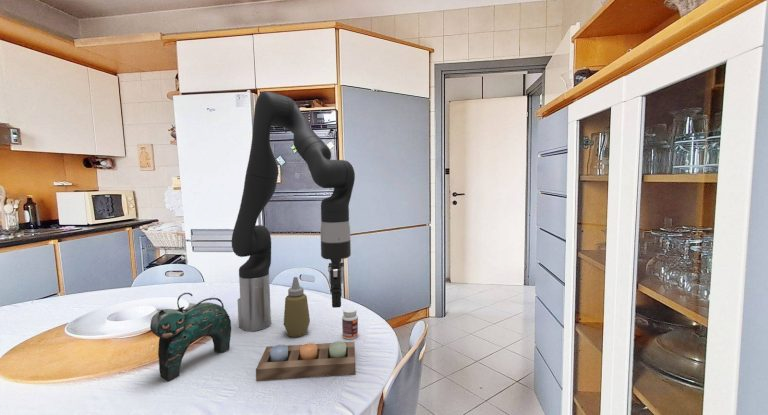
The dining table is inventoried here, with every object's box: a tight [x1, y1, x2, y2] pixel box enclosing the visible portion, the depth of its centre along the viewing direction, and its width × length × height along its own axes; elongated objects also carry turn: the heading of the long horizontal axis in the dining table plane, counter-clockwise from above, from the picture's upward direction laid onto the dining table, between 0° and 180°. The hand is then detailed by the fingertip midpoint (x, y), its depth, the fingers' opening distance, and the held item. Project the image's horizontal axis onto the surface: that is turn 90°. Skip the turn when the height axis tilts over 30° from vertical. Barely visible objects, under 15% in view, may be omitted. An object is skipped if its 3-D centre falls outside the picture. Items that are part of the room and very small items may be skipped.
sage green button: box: [329, 340, 346, 358], centre depth 90 cm, size 4×4×3 cm
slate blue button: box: [270, 344, 288, 362], centre depth 88 cm, size 4×4×3 cm
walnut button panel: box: [255, 341, 357, 382], centre depth 89 cm, size 24×11×3 cm, turn 96°
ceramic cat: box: [150, 292, 232, 382], centre depth 90 cm, size 20×6×20 cm, turn 151°
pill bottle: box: [341, 307, 359, 340], centre depth 105 cm, size 5×5×8 cm
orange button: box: [300, 342, 318, 360], centre depth 89 cm, size 4×4×3 cm
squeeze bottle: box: [283, 276, 311, 338], centre depth 107 cm, size 8×8×18 cm
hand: (337, 301), depth 88 cm, fingers open, 7 cm apart
